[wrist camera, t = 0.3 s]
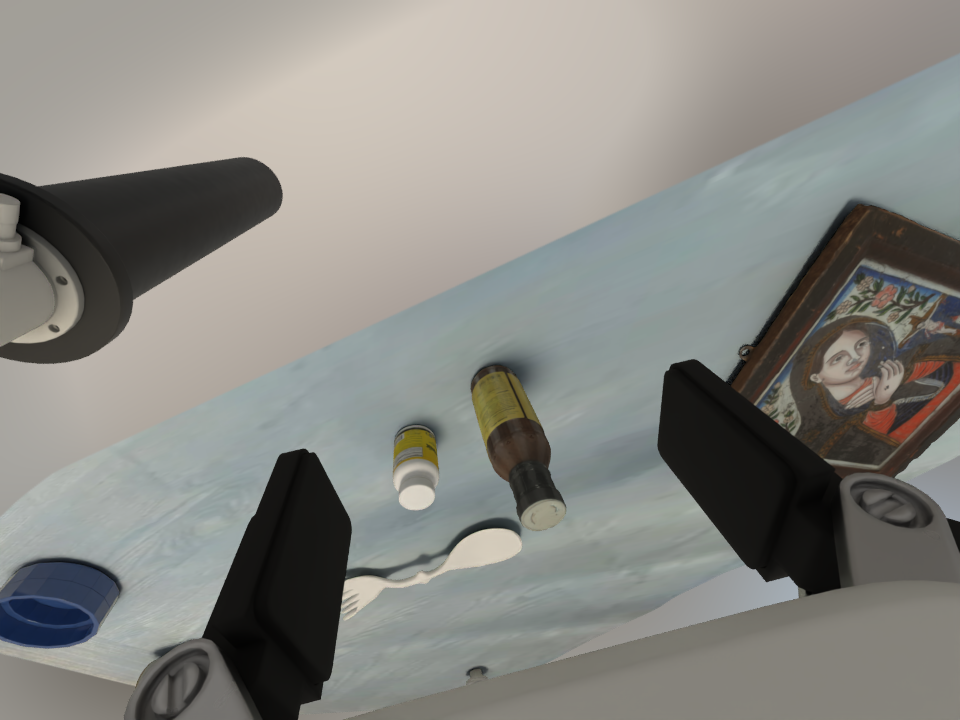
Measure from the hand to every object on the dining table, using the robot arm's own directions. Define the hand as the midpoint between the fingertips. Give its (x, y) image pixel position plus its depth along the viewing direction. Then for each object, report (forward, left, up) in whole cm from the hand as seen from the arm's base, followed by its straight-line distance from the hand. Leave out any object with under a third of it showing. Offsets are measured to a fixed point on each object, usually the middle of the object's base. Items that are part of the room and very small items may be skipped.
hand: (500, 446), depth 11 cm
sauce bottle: (+14, +16, -33) cm, 39 cm away
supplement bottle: (+26, +11, -33) cm, 43 cm away
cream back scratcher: (+48, +24, -33) cm, 63 cm away
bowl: (+69, -21, -33) cm, 79 cm away
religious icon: (-11, +65, -33) cm, 74 cm away
